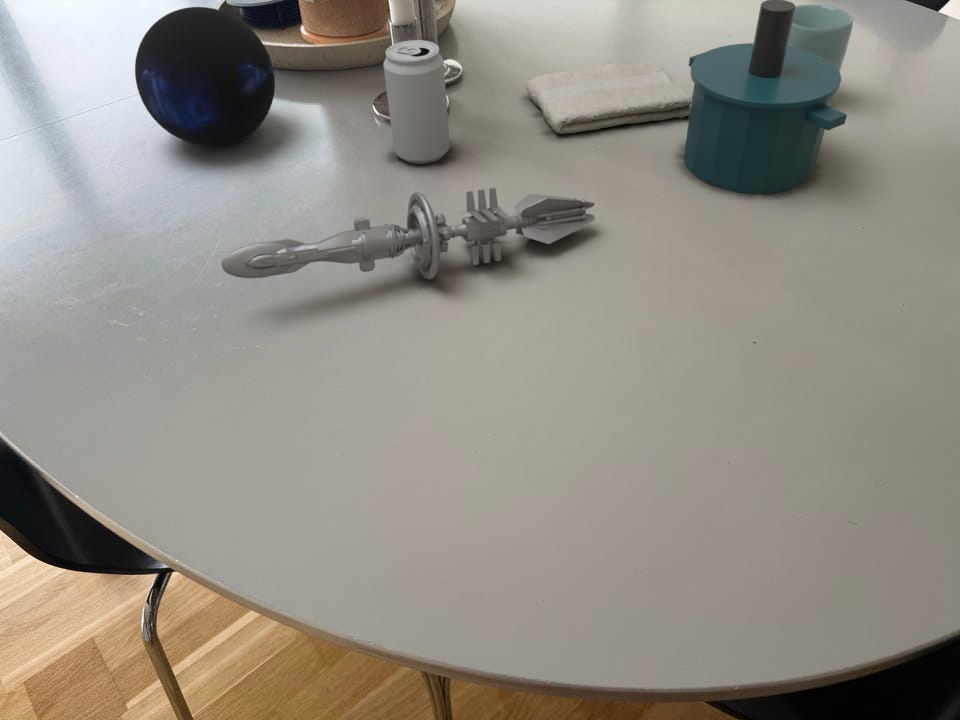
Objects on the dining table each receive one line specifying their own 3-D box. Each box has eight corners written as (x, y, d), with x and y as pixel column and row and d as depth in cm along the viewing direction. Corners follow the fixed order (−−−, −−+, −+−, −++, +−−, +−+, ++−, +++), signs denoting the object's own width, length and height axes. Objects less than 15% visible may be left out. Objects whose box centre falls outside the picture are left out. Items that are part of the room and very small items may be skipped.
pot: (729, 112, 98) (743, 33, 92) (861, 178, 86) (888, 91, 79) (642, 145, 93) (650, 63, 86) (769, 219, 81) (790, 131, 74)
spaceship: (209, 213, 71) (215, 226, 64) (571, 165, 82) (611, 172, 74) (226, 301, 73) (234, 323, 66) (575, 244, 84) (613, 257, 77)
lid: (759, 43, 91) (773, -30, 86) (870, 88, 81) (893, 9, 76) (659, 77, 85) (668, 1, 80) (765, 129, 76) (783, 47, 71)
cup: (805, 81, 103) (825, 0, 97) (844, 107, 98) (868, 22, 91) (751, 92, 102) (768, 10, 95) (788, 118, 96) (808, 33, 89)
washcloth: (697, 117, 97) (701, 92, 95) (554, 140, 95) (554, 115, 92) (657, 77, 106) (659, 54, 104) (524, 98, 103) (524, 74, 101)
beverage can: (437, 170, 90) (428, 64, 82) (385, 162, 92) (371, 57, 84) (458, 144, 95) (452, 40, 87) (408, 136, 97) (397, 35, 89)
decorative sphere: (143, 173, 93) (96, 41, 82) (176, 113, 104) (138, -10, 94) (276, 167, 92) (244, 33, 82) (294, 108, 104) (269, -16, 93)
